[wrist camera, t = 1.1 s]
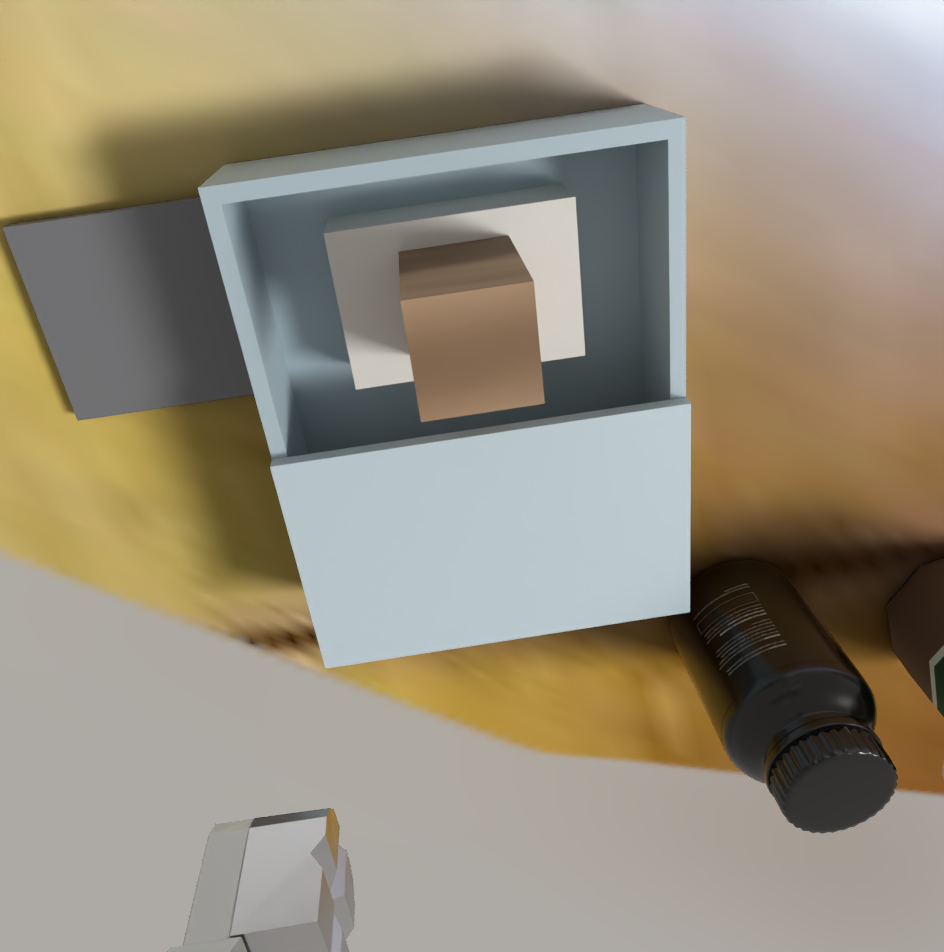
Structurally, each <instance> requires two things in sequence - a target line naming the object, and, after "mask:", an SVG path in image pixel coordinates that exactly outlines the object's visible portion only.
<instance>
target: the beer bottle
mask: <svg viewBox="0 0 944 952" xmlns="http://www.w3.org/2000/svg"><path fill="white" fill-rule="evenodd" d="M887 610H888V618H889V627H890V635H891V644H892V649H893V651H894V652H895V654H896V655H897V657H898V658H899V660H900V661H901V662H902V664H903V665H904V667H905V668H906V670H907V671H908V673H909V674H910V675H911V676H912V678H913V679H914V680H915V681H916V683H917V684H918V685H919V686H920V688H921V689H922V690H923V692H924V693H925V694H926V695H927V697H928V698H929V699H930V700H931V702H932V703H933V704H934V705H935V707H936V708H937V709H938V710H939V712H940V713H941V714H942V715H943V717H944V558H942V559H938V560H935V561H932V562H929V563H926V564H923V565H920V566H919V568H918V569H917V570H916V571H915V572H914V574H913V575H912V576H911V577H910V578H909V579H908V581H907V582H906V583H905V584H904V585H903V586H902V588H901V589H900V590H899V591H898V592H897V593H896V595H895V596H894V597H893V598H892V599H891V601H890V602H889V603H888V604H887Z"/></svg>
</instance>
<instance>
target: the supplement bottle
mask: <svg viewBox="0 0 944 952" xmlns="http://www.w3.org/2000/svg"><path fill="white" fill-rule="evenodd" d="M670 629H671V634H672V638H673V641H674V643H675V645H676V648H677V650H678V652H679V654H680V657H681V659H682V661H683V663H684V665H685V667H686V669H687V671H688V673H689V676H690V678H691V680H692V682H693V684H694V686H695V688H696V690H697V692H698V695H699V697H700V699H701V701H702V703H703V705H704V707H705V709H706V711H707V714H708V716H709V718H710V720H711V722H712V724H713V726H714V728H715V730H716V733H717V735H718V737H719V739H720V741H721V743H722V745H723V747H724V749H725V751H726V753H727V755H728V756H729V758H730V760H731V761H732V762H733V763H734V765H735V766H736V767H737V768H738V769H739V770H741V771H742V772H743V773H745V774H746V775H748V776H749V777H751V778H753V779H755V780H757V781H760V782H762V783H765V784H766V785H767V787H768V789H769V791H770V793H771V794H772V795H773V796H774V798H775V800H776V802H777V804H778V805H779V807H780V809H781V811H782V813H783V814H784V816H785V817H786V819H787V820H788V821H789V822H790V823H792V824H793V825H794V826H795V827H797V828H801V829H802V830H803V831H810V832H812V833H816V832H819V833H826V832H836V831H838V830H845V829H847V828H849V827H853V826H856V825H858V824H859V823H862V822H864V821H866V820H867V819H868V818H870V817H872V816H874V815H875V814H876V813H877V812H878V811H880V810H881V809H883V807H884V805H885V804H886V803H888V802H889V801H890V798H891V796H892V795H893V794H894V789H895V788H896V786H897V783H896V781H897V779H898V776H897V774H896V768H895V766H894V764H893V763H892V761H891V759H890V758H889V756H888V755H887V753H886V752H885V750H884V749H883V747H882V744H881V741H880V739H879V738H878V736H877V735H876V734H875V732H874V730H875V726H876V719H877V709H876V702H875V698H874V695H873V693H872V691H871V689H870V687H869V686H868V684H867V683H866V681H865V680H864V678H863V677H862V675H861V674H860V672H859V671H858V670H857V668H856V667H855V666H854V664H853V663H852V662H851V660H850V659H849V657H848V656H847V655H846V653H845V652H844V651H843V649H842V648H841V647H840V645H839V644H838V642H837V641H836V640H835V638H834V637H833V636H832V634H831V633H830V632H829V630H828V629H827V627H826V626H825V625H824V623H823V622H822V621H821V619H820V618H819V617H818V615H817V614H816V612H815V611H814V610H813V608H812V607H811V606H810V604H809V603H808V602H807V600H806V599H805V597H804V596H803V595H802V593H801V592H800V591H799V589H798V588H797V587H796V586H795V584H794V583H793V582H792V580H791V579H790V578H789V577H788V576H787V575H786V574H785V573H784V572H782V571H781V570H780V569H778V568H776V567H774V566H772V565H770V564H767V563H764V562H760V561H754V560H738V561H731V562H727V563H723V564H720V565H717V566H715V567H712V568H710V569H708V570H706V571H705V572H703V573H701V574H700V575H698V576H697V577H696V578H694V579H693V580H692V581H691V582H690V612H688V613H681V614H675V615H671V619H670Z"/></svg>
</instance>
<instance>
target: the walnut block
mask: <svg viewBox="0 0 944 952" xmlns="http://www.w3.org/2000/svg"><path fill="white" fill-rule="evenodd" d="M398 254H399V280H400V302H401V308H402V314H403V320H404V325H405V331H406V337H407V343H408V349H409V355H410V361H411V366H412V372H413V378H414V384H415V390H416V396H417V402H418V408H419V413H420V419H421V422H426V421H433V420H439V419H446V418H453V417H459V416H466V415H473V414H479V413H486V412H493V411H499V410H506V409H513V408H519V407H526V406H533V405H539V404H545V400H544V389H543V378H542V366H541V355H540V344H539V333H538V322H537V310H536V299H535V288H534V281H533V279H532V277H531V275H530V273H529V271H528V270H527V268H526V266H525V264H524V262H523V261H522V259H521V257H520V255H519V253H518V251H517V250H516V248H515V246H514V244H513V242H512V241H511V239H510V237H509V235H508V236H501V237H494V238H488V239H481V240H474V241H467V242H460V243H454V244H447V245H440V246H433V247H426V248H420V249H413V250H406V251H399V252H398Z"/></svg>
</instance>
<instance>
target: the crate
mask: <svg viewBox="0 0 944 952" xmlns="http://www.w3.org/2000/svg"><path fill="white" fill-rule="evenodd" d="M198 191H199V195H200V198H201V202H202V206H203V209H204V213H205V217H206V220H207V224H208V228H209V231H210V235H211V239H212V242H213V246H214V250H215V253H216V257H217V261H218V264H219V268H220V272H221V275H222V279H223V283H224V286H225V290H226V294H227V297H228V301H229V305H230V308H231V312H232V316H233V319H234V323H235V327H236V330H237V334H238V337H239V341H240V345H241V348H242V352H243V356H244V359H245V363H246V367H247V370H248V374H249V378H250V381H251V385H252V389H253V392H254V396H255V400H256V403H257V407H258V411H259V414H260V418H261V422H262V425H263V429H264V433H265V436H266V440H267V444H268V447H269V451H270V455H271V458H272V461H271V465H270V469H271V473H272V476H273V480H274V484H275V487H276V491H277V494H278V498H279V502H280V505H281V509H282V513H283V516H284V520H285V523H286V527H287V531H288V534H289V538H290V542H291V545H292V549H293V552H294V556H295V560H296V563H297V567H298V571H299V574H300V578H301V581H302V585H303V589H304V592H305V596H306V600H307V603H308V607H309V610H310V614H311V618H312V621H313V625H314V629H315V632H316V636H317V639H318V643H319V647H320V650H321V654H322V658H323V661H324V665H325V668H332V667H339V666H345V665H352V664H358V663H364V662H371V661H377V660H384V659H390V658H397V657H403V656H410V655H416V654H423V653H429V652H436V651H442V650H448V649H455V648H461V647H468V646H474V645H481V644H487V643H494V642H500V641H507V640H513V639H520V638H526V637H532V636H539V635H545V634H552V633H558V632H565V631H571V630H578V629H584V628H591V627H597V626H604V625H610V624H616V623H623V622H629V621H636V620H642V619H649V618H655V617H662V616H668V615H675V614H681V613H688V612H690V509H691V403H690V402H689V400H688V399H687V398H686V117H684V116H681V115H678V114H675V113H672V112H669V111H666V110H663V109H660V108H657V107H654V106H651V105H648V104H639V105H632V106H625V107H618V108H611V109H604V110H597V111H590V112H583V113H577V114H570V115H563V116H556V117H549V118H542V119H535V120H528V121H521V122H514V123H508V124H501V125H494V126H487V127H480V128H473V129H466V130H459V131H452V132H445V133H438V134H432V135H425V136H418V137H411V138H404V139H397V140H390V141H383V142H376V143H369V144H363V145H356V146H349V147H342V148H335V149H328V150H321V151H314V152H307V153H300V154H293V155H287V156H280V157H273V158H266V159H259V160H252V161H245V162H238V163H231V164H224V165H223V166H222V167H221V168H220V169H219V170H218V171H216V172H215V173H214V174H213V175H212V176H211V177H210V178H209V179H207V180H206V181H205V182H204V183H203V184H202V185H201V186H200V187H198ZM508 235H509V237H510V239H511V241H512V242H513V244H514V246H515V248H516V250H517V251H518V253H519V255H520V257H521V259H522V261H523V262H524V264H525V266H526V268H527V270H528V271H529V273H530V275H531V277H532V279H533V281H534V288H535V299H536V310H537V322H538V333H539V344H540V355H541V366H542V378H543V389H544V400H545V404H539V405H533V406H526V407H519V408H513V409H506V410H499V411H493V412H486V413H479V414H473V415H466V416H459V417H453V418H446V419H439V420H433V421H426V422H421V419H420V413H419V408H418V402H417V396H416V390H415V384H414V378H413V372H412V366H411V361H410V355H409V349H408V343H407V337H406V331H405V325H404V320H403V314H402V308H401V302H400V280H399V254H398V252H399V251H406V250H413V249H420V248H426V247H433V246H440V245H447V244H454V243H460V242H467V241H474V240H481V239H488V238H494V237H501V236H508Z"/></svg>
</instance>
